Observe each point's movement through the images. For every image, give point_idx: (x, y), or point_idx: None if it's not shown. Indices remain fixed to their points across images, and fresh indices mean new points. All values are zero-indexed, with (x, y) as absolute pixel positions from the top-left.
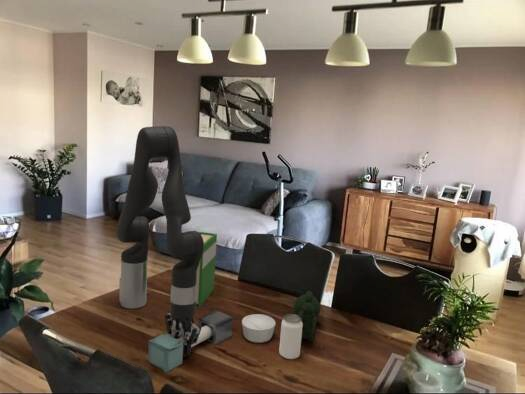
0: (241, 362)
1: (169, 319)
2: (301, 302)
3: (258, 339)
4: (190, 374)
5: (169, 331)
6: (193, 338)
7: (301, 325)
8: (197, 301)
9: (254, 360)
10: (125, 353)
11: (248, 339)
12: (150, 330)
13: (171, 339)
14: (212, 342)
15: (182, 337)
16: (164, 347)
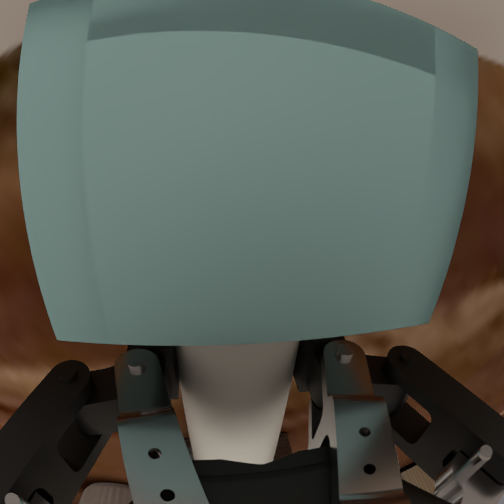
0: (3, 400)
1: (475, 467)
2: None
3: (87, 493)
4: (3, 182)
5: (403, 371)
6: (8, 432)
7: None
8: (405, 479)
9: (4, 422)
10: (483, 81)
11: (118, 486)
12: (487, 310)
13: (250, 290)
14: (187, 442)
15: (255, 401)
16: (129, 18)
